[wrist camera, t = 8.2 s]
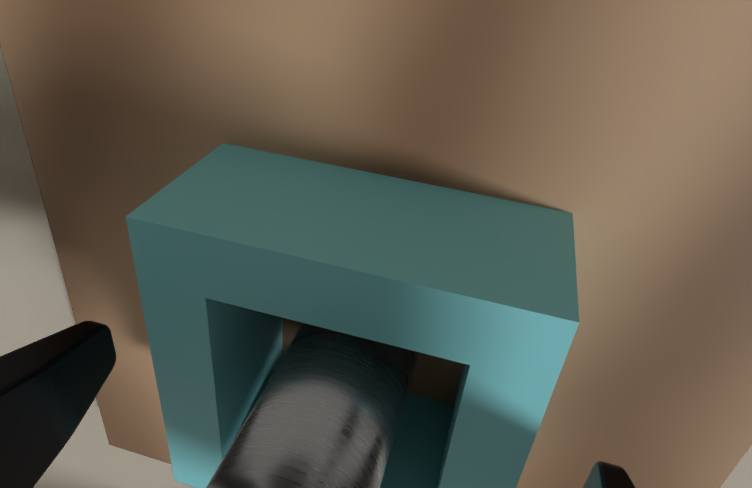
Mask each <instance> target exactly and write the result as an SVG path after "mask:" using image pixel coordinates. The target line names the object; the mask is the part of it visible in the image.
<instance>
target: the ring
mask: <svg viewBox="0 0 752 488" xmlns="http://www.w3.org/2000/svg"><path fill="white" fill-rule="evenodd" d="M126 222H127V227H128V232H129V238H130V243H131V248H132V254H133V259H134V265H135V270H136V275H137V281H138V286H139V291H140V297H141V302H142V308H143V313H144V318H145V324H146V329H147V334H148V340H149V345H150V350H151V356H152V361H153V367H154V372H155V377H156V383H157V388H158V393H159V399H160V404H161V410H162V415H163V420H164V426H165V431H166V436H167V442H168V447H169V452H170V458H171V463H172V469H173V474H174V479H175V481H177V482H180V483H183V484H186V485H189V486H192V487H195V488H206V487H207V485H208V484H209V482H210V480H211V478H212V477H213V475H214V473H215V472H216V470H217V468H218V466H219V465H220V463H221V461H222V460H223V458H224V456H225V454H226V453H227V451H228V449H229V448H230V446H231V444H232V442H233V441H234V439H235V437H236V436H237V434H238V432H239V430H240V429H241V427H242V425H243V424H244V422H245V420H246V419H247V417H248V415H249V413H250V412H251V410H252V408H253V407H254V405H255V403H256V401H257V400H258V398H259V396H260V395H261V393H262V391H263V389H264V388H265V386H266V384H267V383H268V381H269V379H270V377H271V376H272V374H273V372H274V371H275V369H276V367H277V365H278V364H279V362H280V360H281V359H282V318H286V319H290V320H294V321H298V322H302V323H306V324H310V325H314V326H318V327H322V328H326V329H329V330H333V331H337V332H341V333H345V334H349V335H353V336H357V337H361V338H365V339H369V340H373V341H377V342H381V343H384V344H388V345H392V346H396V347H400V348H404V349H408V350H412V351H416V352H420V353H424V354H428V355H432V356H436V357H439V358H443V359H447V360H451V361H455V362H459V363H463V366H462V370H461V375H460V379H459V383H458V387H457V391H456V395H455V399H454V403H453V405H452V404H448V403H444V402H441V401H437V400H433V399H430V398H426V397H422V396H418V395H415V394H411V393H407V397H406V400H405V404H404V407H403V410H402V414H401V417H400V421H399V424H398V428H397V431H396V434H395V438H394V441H393V445H392V448H391V451H390V455H389V458H388V462H387V465H386V469H385V472H384V475H383V479H382V482H381V486H380V488H516V487H517V484H518V481H519V479H520V476H521V474H522V471H523V468H524V466H525V463H526V461H527V458H528V455H529V453H530V450H531V447H532V445H533V442H534V440H535V437H536V434H537V432H538V429H539V427H540V424H541V421H542V419H543V416H544V414H545V411H546V408H547V406H548V403H549V400H550V398H551V395H552V393H553V390H554V387H555V385H556V382H557V380H558V377H559V374H560V372H561V369H562V367H563V364H564V361H565V359H566V356H567V354H568V351H569V348H570V346H571V343H572V340H573V338H574V335H575V333H576V330H577V327H578V325H579V308H578V292H577V275H576V258H575V241H574V225H573V213H569V212H564V211H560V210H555V209H550V208H545V207H540V206H535V205H530V204H525V203H520V202H515V201H510V200H505V199H500V198H495V197H490V196H485V195H480V194H475V193H470V192H465V191H460V190H455V189H450V188H445V187H440V186H435V185H430V184H425V183H420V182H415V181H410V180H405V179H400V178H395V177H390V176H385V175H380V174H375V173H370V172H365V171H360V170H356V169H351V168H346V167H341V166H336V165H331V164H326V163H321V162H316V161H311V160H306V159H301V158H296V157H291V156H286V155H281V154H276V153H271V152H266V151H261V150H256V149H251V148H246V147H241V146H236V145H231V144H226V143H222V144H221V145H220V146H218V147H217V148H216V149H214V150H213V151H212V152H210V153H209V154H208V155H206V156H205V157H204V158H202V159H201V160H200V161H199V162H197V163H196V164H195V165H193V166H192V167H191V168H189V169H188V170H187V171H185V172H184V173H183V174H181V175H180V176H179V177H177V178H176V179H175V180H173V181H172V182H171V183H169V184H168V185H167V186H165V187H164V188H163V189H162V190H160V191H159V192H158V193H156V194H155V195H154V196H152V197H151V198H150V199H148V200H147V201H146V202H144V203H143V204H142V205H140V206H139V207H138V208H136V209H135V210H134V211H132V212H131V213H130V214H128V215H127V216H126Z"/></svg>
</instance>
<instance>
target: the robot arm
mask: <svg viewBox="0 0 752 488" xmlns="http://www.w3.org/2000/svg"><path fill="white" fill-rule="evenodd" d="M115 362H116V351H115V347H114V343H113V338H112V334H111V330H110V328H109V327H108V326H107V325H105V324H102V323H98V322H95V321H90V320H89V321H83V322H81V323H78V324H76V325H74V326H71V327H69V328H67V329H64V330H62V331H59V332H57V333H55V334H52V335H50V336H48V337H45V338H43V339H41V340H38V341H36V342H33V343H31V344H29V345H26V346H24V347H22V348H19V349H17V350H15V351H12V352H10V353H7V354H5V355H3V356H0V488H33V487H34V485H35V484H36V483H37V481H38V480H39V479H40V478H41V476H42V475H43V474H44V472H45V471H46V470H47V468H48V467H49V466H50V464H51V463H52V462H53V460H54V459H55V458H56V456H57V455H58V454H59V452H60V451H61V450H62V448H63V447H64V446H65V444H66V443H67V441H68V440H69V439H70V437H71V436H72V434H73V433H74V431H75V430H76V428H77V427H78V425H79V423H80V422H81V420H82V419H83V417H84V415H85V414H86V412H87V410H88V409H89V407H90V405H91V404H92V402H93V401H94V399H95V397H96V396H97V394H98V392H99V391H100V389H101V388H102V386H103V384H104V383H105V381H106V379H107V378H108V376H109V374H110V373H111V371H112V370H113V368H114V365H115ZM583 488H636V487H635V486H634V484H633V482H632V480H631V479H630V477H629V475H628V474H627V472H626V471H625V470H624V469H623V468H622V467H620V466H617V465H614V464H610V463H607V462H603V461H598V462H596V463H595V464H594V466H593V468H592V470H591V472H590V474H589V476H588V478H587V480H586V482H585V484H584V486H583Z"/></svg>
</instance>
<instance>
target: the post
mask: <svg viewBox="0 0 752 488" xmlns="http://www.w3.org/2000/svg"><path fill="white" fill-rule="evenodd" d="M418 356H419V352H416V351H412V350H408V349H404V348H400V347H396V346H392V345H388V344H384V343H381V342H377V341H373V340H369V339H365V338H361V337H357V336H353V335H349V334H345V333H341V332H337V331H333V330H329V329H326V328H322V327H318V326H314V325H310V324H306V323H302V324H301V326H300V328H299V330H298V331H297V333H296V335H295V336H294V338H293V340H292V342H291V343H290V345H289V347H288V348H287V350H286V352H285V353H284V355H283V357H282V359H281V360H280V362H279V364H278V365H277V367H276V369H275V371H274V372H273V374H272V376H271V377H270V379H269V381H268V383H267V384H266V386H265V388H264V389H263V391H262V393H261V395H260V396H259V398H258V400H257V401H256V403H255V405H254V407H253V408H252V410H251V412H250V413H249V415H248V417H247V419H246V420H245V422H244V424H243V425H242V427H241V429H240V430H239V432H238V434H237V436H236V437H235V439H234V441H233V442H232V444H231V446H230V448H229V449H228V451H227V453H226V454H225V456H224V458H223V460H222V461H221V463H220V465H219V466H218V468H217V470H216V472H215V473H214V475H213V477H212V478H211V480H210V482H209V484H208V485H207V487H206V488H380V486H381V482H382V479H383V475H384V472H385V469H386V465H387V462H388V458H389V455H390V451H391V448H392V445H393V441H394V438H395V434H396V431H397V428H398V424H399V421H400V417H401V414H402V410H403V407H404V404H405V400H406V397H407V393H408V390H409V386H410V383H411V380H412V376H413V373H414V369H415V366H416V362H417V359H418Z"/></svg>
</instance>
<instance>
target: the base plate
mask: <svg viewBox="0 0 752 488" xmlns="http://www.w3.org/2000/svg"><path fill="white" fill-rule="evenodd" d="M0 45H1V49H2V53H3V56H4V60H5V64H6V67H7V71H8V75H9V78H10V82H11V86H12V89H13V93H14V97H15V100H16V104H17V108H18V111H19V115H20V119H21V122H22V126H23V130H24V133H25V137H26V141H27V144H28V148H29V152H30V155H31V159H32V163H33V166H34V170H35V174H36V177H37V181H38V185H39V188H40V192H41V196H42V199H43V203H44V207H45V210H46V214H47V218H48V221H49V225H50V229H51V232H52V236H53V240H54V243H55V247H56V251H57V254H58V258H59V262H60V265H61V269H62V273H63V276H64V280H65V284H66V287H67V291H68V295H69V298H70V302H71V306H72V309H73V313H74V317H75V320H76V324H78V323H81V322H83V321H89V320H90V321H95V322H98V323H102V324H105V325H107V326H108V327H109V328H110V330H111V334H112V338H113V343H114V347H115V351H116V362H115V365H114V368H113V370H112V371H111V373H110V374H109V376H108V378H107V379H106V381H105V383H104V384H103V386H102V388H101V389H100V391H99V392H98V394H97V396H96V397H97V401H98V405H99V408H100V412H101V416H102V419H103V423H104V427H105V430H106V434H107V438H108V441H109V445H113V446H116V447H119V448H122V449H125V450H128V451H132V452H135V453H138V454H141V455H144V456H147V457H150V458H154V459H157V460H160V461H163V462H166V463H169V464H172V463H171V458H170V452H169V447H168V442H167V436H166V431H165V426H164V420H163V415H162V410H161V404H160V399H159V393H158V388H157V383H156V377H155V372H154V367H153V361H152V356H151V350H150V345H149V340H148V334H147V329H146V324H145V318H144V313H143V308H142V302H141V297H140V291H139V286H138V281H137V275H136V270H135V265H134V259H133V254H132V248H131V243H130V238H129V232H128V227H127V222H126V216H127V215H128V214H130V213H131V212H132V211H134V210H135V209H136V208H138V207H139V206H140V205H142V204H143V203H144V202H146V201H147V200H148V199H150V198H151V197H152V196H154V195H155V194H156V193H158V192H159V191H160V190H162V189H163V188H164V187H165V186H167V185H168V184H169V183H171V182H172V181H173V180H175V179H176V178H177V177H179V176H180V175H181V174H183V173H184V172H185V171H187V170H188V169H189V168H191V167H192V166H193V165H195V164H196V163H197V162H199V161H200V160H201V159H202V158H204V157H205V156H206V155H208V154H209V153H210V152H212V151H213V150H214V149H216V148H217V147H218V146H220V145H221V144H222V143H226V144H231V145H236V146H241V147H246V148H251V149H256V150H261V151H266V152H271V153H276V154H281V155H286V156H291V157H296V158H301V159H306V160H311V161H316V162H321V163H326V164H331V165H336V166H341V167H346V168H351V169H356V170H360V171H365V172H370V173H375V174H380V175H385V176H390V177H395V178H400V179H405V180H410V181H415V182H420V183H425V184H430V185H435V186H440V187H445V188H450V189H455V190H460V191H465V192H470V193H475V194H480V195H485V196H490V197H495V198H500V199H505V200H510V201H515V202H520V203H525V204H530V205H535V206H540V207H545V208H550V209H555V210H560V211H564V212H569V213H573V225H574V241H575V258H576V275H577V292H578V308H579V325H578V327H577V330H576V333H575V335H574V338H573V340H572V343H571V346H570V348H569V351H568V354H567V356H566V359H565V361H564V364H563V367H562V369H561V372H560V374H559V377H558V380H557V382H556V385H555V387H554V390H553V393H552V395H551V398H550V400H549V403H548V406H547V408H546V411H545V414H544V416H543V419H542V421H541V424H540V427H539V429H538V432H537V434H536V437H535V440H534V442H533V445H532V447H531V450H530V453H529V455H528V458H527V461H526V463H525V466H524V468H523V471H522V474H521V476H520V479H519V481H518V484H517V487H516V488H583V486H584V484H585V482H586V480H587V478H588V476H589V474H590V472H591V470H592V468H593V466H594V464H595V463H596V462H598V461H603V462H607V463H610V464H614V465H617V466H620V467H622V468H623V469H624V470H625V471H626V472H627V474H628V475H629V477H630V479H631V480H632V482H633V484H634V486H635V487H636V488H720V487H721V485H722V484H723V483H724V481H725V480H726V479H727V477H728V476H729V474H730V473H731V472H732V470H733V469H734V468H735V466H736V465H737V464H738V462H739V461H740V459H741V458H742V457H743V455H744V454H745V453H746V451H747V450H748V449H749V447H750V446H751V444H752V0H0ZM301 324H302V322H298V321H294V320H290V319H286V318H282V357H283V355H284V353H285V352H286V350H287V348H288V347H289V345H290V343H291V342H292V340H293V338H294V336H295V335H296V333H297V331H298V330H299V328H300V326H301ZM462 366H463V363H459V362H455V361H451V360H447V359H443V358H439V357H436V356H432V355H428V354H424V353H420V352H419V356H418V359H417V362H416V366H415V369H414V373H413V376H412V380H411V383H410V386H409V390H408V393H411V394H415V395H418V396H422V397H426V398H430V399H433V400H437V401H441V402H444V403H448V404H452V405H453V403H454V399H455V395H456V391H457V387H458V383H459V379H460V375H461V370H462Z"/></svg>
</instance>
